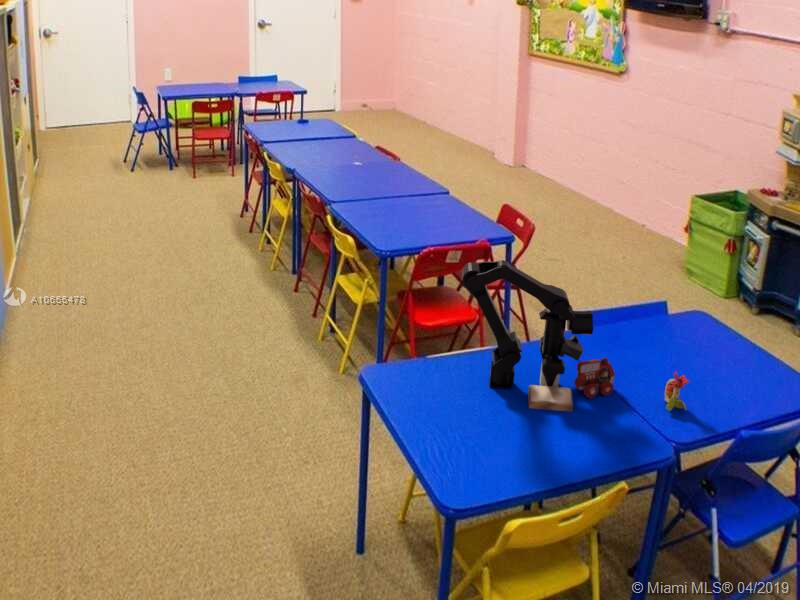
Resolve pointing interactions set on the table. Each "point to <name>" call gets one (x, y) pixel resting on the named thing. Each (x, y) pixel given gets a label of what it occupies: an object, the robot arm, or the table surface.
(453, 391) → the table surface
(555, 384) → the white block
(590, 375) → the toy fire truck
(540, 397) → the plinth
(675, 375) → the bird rattle
